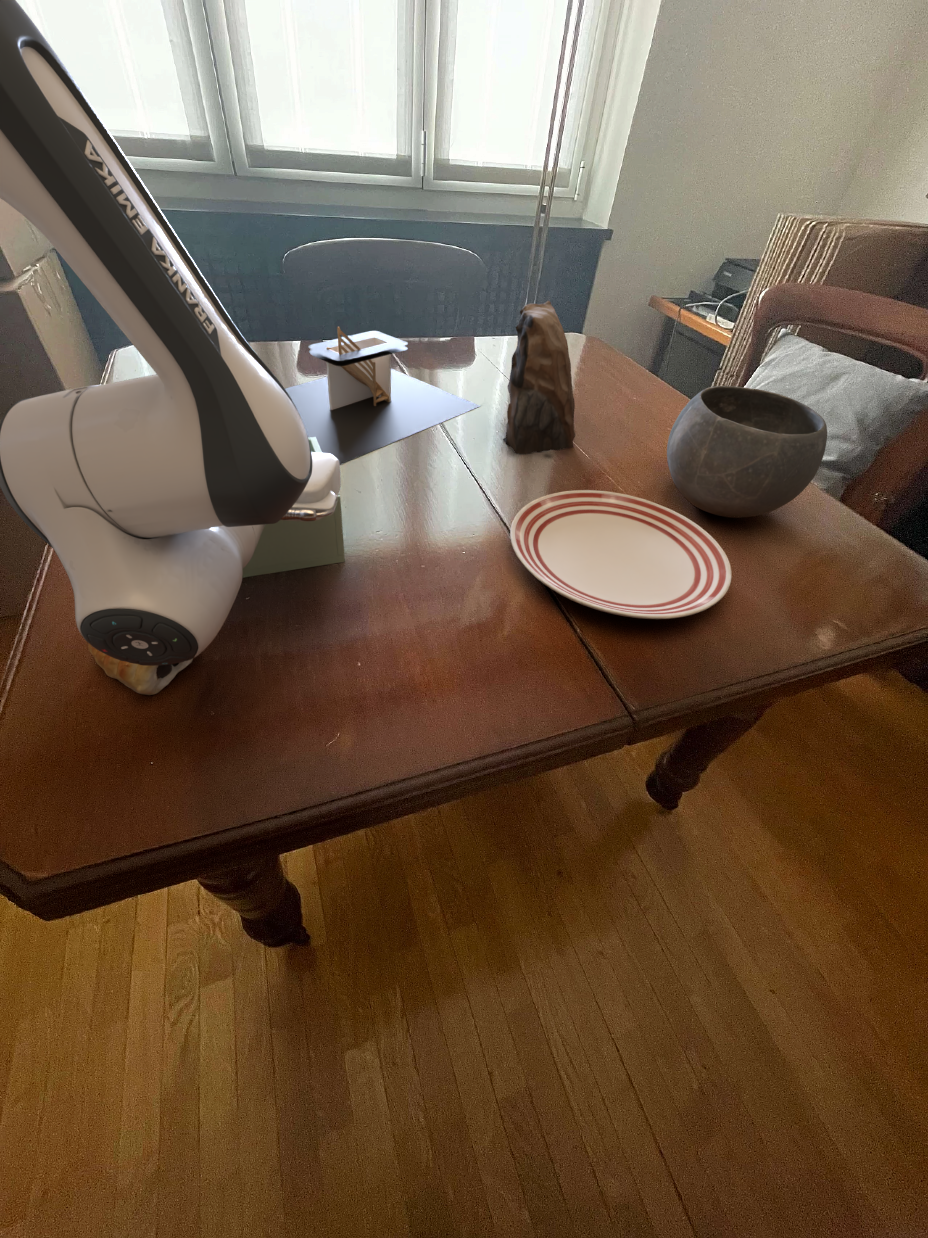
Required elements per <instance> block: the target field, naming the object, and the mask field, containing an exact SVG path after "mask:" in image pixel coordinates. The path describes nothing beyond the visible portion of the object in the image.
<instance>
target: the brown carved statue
mask: <svg viewBox="0 0 928 1238" xmlns="http://www.w3.org/2000/svg"><path fill="white" fill-rule="evenodd" d="M519 314H520V319H519V322H518V323H517V325H516V326H515V331H516V335H517V345H516V348H515V350H514V352H513V354H512V356H511V367H510V368H511V369H510V373H509V378H508V379H509V380H508V383H507V391H508V394H509V403H508V404H507V405H508V406H507V411H506V412H507V413H506V414H507V415H506V419H507V423H506V425H505V436H504V437H505V438H503V439H502V440H503V442H504V443H505V445H506V446H508V447H509V448H510V449H511V450H512V451H513V452H514V454H517V455H530V454H533V453H543V452H549V451H560V450H561V451H562V450H564V449H571V448H573V447H574V440H575V437H576V431H575V409H576V405H575V404H576V403H575V397H574V390H573V381H572V379H573V377H572V365H571V358H570V352H569V345H568V339H567V336H566V334H565V331H564V328H563V325H562V323H561V322H560V318H559V316H558V314H557V312H556V309H555V307H554V306H553V305H552V301H550V300H547V301H545V302H544V303H532V302H531V303H527V304H525V305H524V306H523V307H522V308H521V310H519Z"/></svg>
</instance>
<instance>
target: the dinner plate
mask: <svg viewBox="0 0 928 1238" xmlns="http://www.w3.org/2000/svg"><path fill="white" fill-rule="evenodd" d="M509 536H510V537H509V538H510V542H511V546H512V549H513V551H514V554H515V555H516V557H517V558H518V560H519V561H520V562H521V564H522V565H523V567H524V568H526V570H527V571H528V572H529V573H530V574H531V575H532V576H533V577H534V578H536V579H537V580H538V581H539V582H540V583H542V584H543V585H544V586H546V587H547V588H549V589H550V590H552V591H554V592H555V593H557V594H558V595H560V596H562V597H564V598H565V599H568V600H570V601H573V602H574V603H577V604H579V605H582V606H585V607H588V608H590V609H592V610H593V609H594V610H596V611H598V612H599V611H600V612H603V613H607V614H611V615H616V616H621V617H627V618H632V619H633V618H634V619H641V620H642V619H643V620H669V619H678V618H684V617H689V616H693V615H695V614H698V613H702V612H704V611H706V610H707V609H710V608H711V607H712V606H715V605H716V604H717V603H718V602H719V601H721V600H722V599H723V597H724V596H725V595H726V594H727V592H728V590H729V588H730V586H731V582H732V567H731V563H730V560H729V558H728V556H727V554H726V552H725V550H723V548H722V546H720V544H719V543H718V541H716V539H715V538H714V537H713V536H712V535H711V534H710V533H708V532H707V530H705V529H703V527H701V526H700V525H698V524H697V523H696V522H694V521H693V520H691V519H689V518H688V517H686V516H685V515H683V514H681V513H679V512H677V511H675V510H673V509H671V508H668V507H666V506H664V505H661V504H658V503H656V502H653V501H651V500H648V499H644V498H641V497H637V496H634V495H630V494H626V493H621V492H614V491H606V490H594V489H593V490H592V489H578V490H577V489H575V490H566V491H560V492H553V493H550V494H547V495H544V496H543V495H542V496H541V497H538V498H536V499H534V500H532V501H530V502H528V503H527V504H526V505H524V506H523V507H522V508H520V510H519V511H518V512H517V513H516V515H514V517H513V520H512V522H511V525H510V531H509Z"/></svg>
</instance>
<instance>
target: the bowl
mask: <svg viewBox="0 0 928 1238" xmlns="http://www.w3.org/2000/svg"><path fill="white" fill-rule="evenodd" d="M827 426H828V425H827V422H826V420H825V419H824V418H823V417H822V416H821V414H819V412H817V411H816V410H815V409H813V408H811V407H810V406H808V405H806V404H804V403H802V402H800V401H799V400H796V399H794V398H792V397H789V396H786V395H783V394H781V393H776V392H772V391H769V390H763V389H759V388H750V387H743V386H732V385H715V386H709V387H707V388H704V389H702V390H701V391H700V392H698V393H697V394H696V395H694V396H692V398H691V399H690V400H689V401H688V402H687V403H686V405H685V406H684V407H683V408H682V410H681V411H680V412H679V414H678V416H677V418H676V419H675V421H674V423H673V425H672V427H671V429H670V432H669V436H668V440H667V446H666V460H667V466H668V470H669V473H670V476H671V479H672V481H673V483H674V486H675V488H676V489H677V491H678V492H679V493H680V494H681V495H682V497H684V499H685V500H686V501H688V502H689V503H690V504H691V505H693V506H694V507H696V508H698V509H699V510H701V511H703V512H707V513H709V514H712V515H715V516H720V517H724V518H736V519H737V518H739V519H740V518H750V517H755V516H756V517H757V516H761V515H765V514H769V513H771V512H774V511H775V510H778V509H779V508H782V507H784V506H786V505H787V504H788V503H790V502H792V501H793V500H794V499H796V498H797V497H798V496H800V494H802V493H803V492H804V491H805V489H806V488H807V487H808V486H809V484H810V483H811V482H812V480H814V478H815V476H816V475H817V473H818V470H819V469H820V466H821V464H822V461H823V458H824V455H825V452H826V448H827V441H828V427H827Z"/></svg>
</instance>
